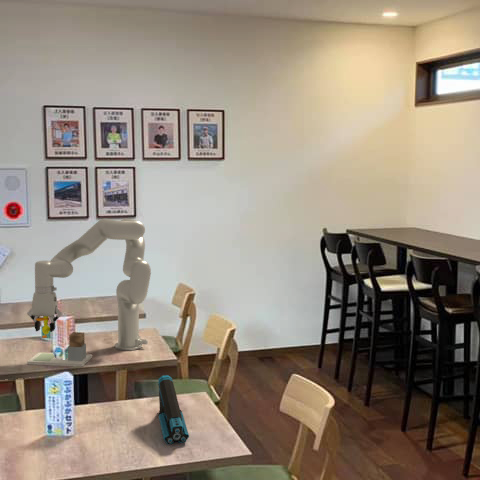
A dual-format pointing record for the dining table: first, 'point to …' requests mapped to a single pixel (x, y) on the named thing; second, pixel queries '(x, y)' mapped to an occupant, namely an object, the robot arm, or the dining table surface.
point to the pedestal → (77, 353)
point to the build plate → (56, 360)
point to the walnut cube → (76, 339)
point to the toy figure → (45, 327)
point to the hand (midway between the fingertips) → (44, 330)
